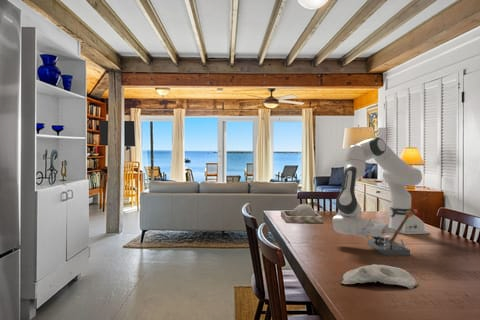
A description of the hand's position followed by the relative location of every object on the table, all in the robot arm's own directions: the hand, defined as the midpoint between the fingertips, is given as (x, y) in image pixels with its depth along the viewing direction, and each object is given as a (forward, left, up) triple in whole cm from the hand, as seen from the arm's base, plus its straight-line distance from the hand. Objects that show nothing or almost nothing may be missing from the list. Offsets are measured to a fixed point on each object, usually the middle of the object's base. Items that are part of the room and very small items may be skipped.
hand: (395, 231), depth 171 cm
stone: (+24, +38, -11) cm, 46 cm away
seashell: (+26, -84, -10) cm, 88 cm away
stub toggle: (-3, +3, -7) cm, 8 cm away
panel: (+1, -5, -10) cm, 11 cm away
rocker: (+3, -11, -6) cm, 13 cm away
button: (-2, -11, -7) cm, 13 cm away
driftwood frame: (+29, -83, -10) cm, 89 cm away
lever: (+2, -1, -7) cm, 7 cm away
